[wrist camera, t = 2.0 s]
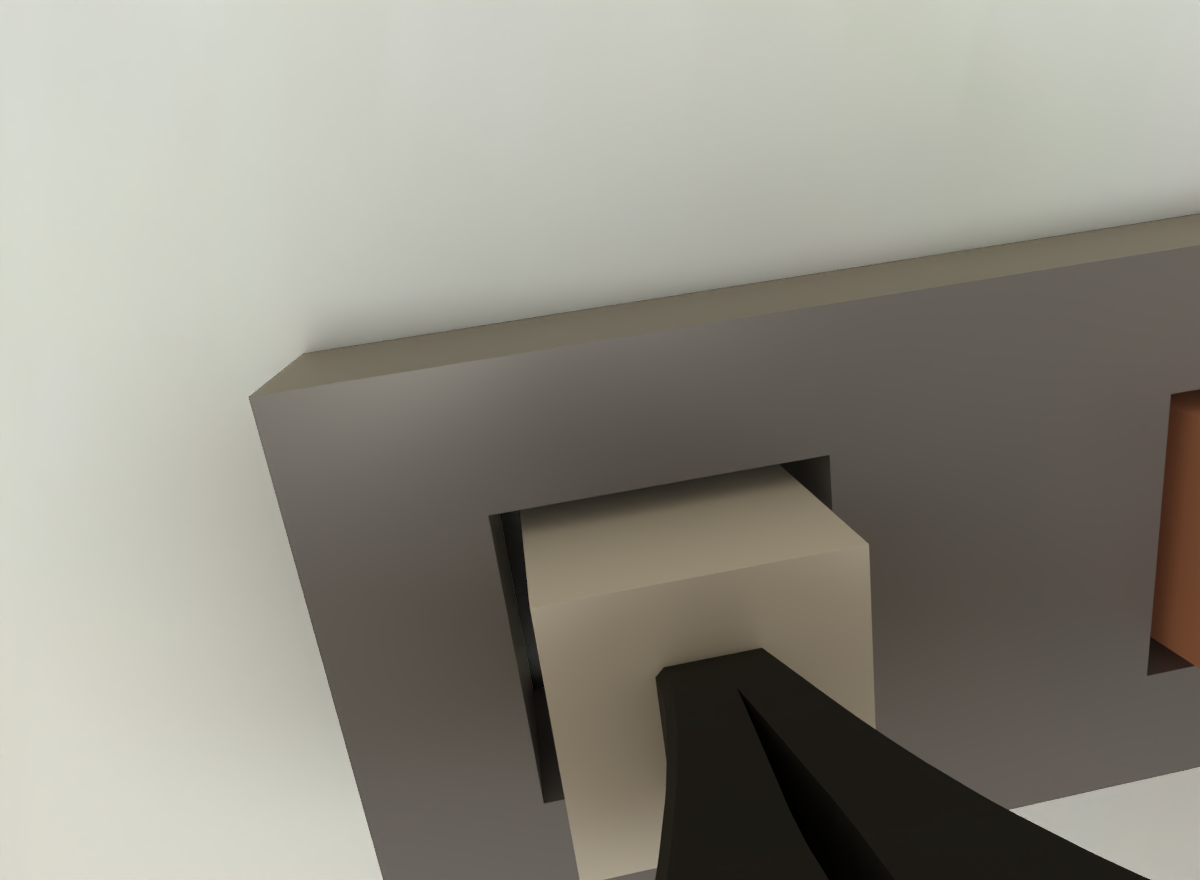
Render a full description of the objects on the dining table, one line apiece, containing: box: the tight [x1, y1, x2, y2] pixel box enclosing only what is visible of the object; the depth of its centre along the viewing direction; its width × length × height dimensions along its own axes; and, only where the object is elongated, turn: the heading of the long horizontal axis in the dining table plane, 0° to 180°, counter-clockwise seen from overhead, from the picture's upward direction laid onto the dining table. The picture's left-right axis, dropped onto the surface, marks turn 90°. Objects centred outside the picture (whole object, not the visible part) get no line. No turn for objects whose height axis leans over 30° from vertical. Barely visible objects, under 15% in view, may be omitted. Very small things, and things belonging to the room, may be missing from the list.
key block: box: [249, 214, 1200, 880], centre depth 13 cm, size 20×9×3 cm, turn 98°
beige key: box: [520, 464, 876, 880], centre depth 11 cm, size 4×4×3 cm
